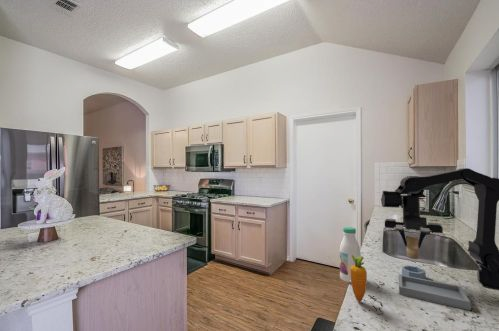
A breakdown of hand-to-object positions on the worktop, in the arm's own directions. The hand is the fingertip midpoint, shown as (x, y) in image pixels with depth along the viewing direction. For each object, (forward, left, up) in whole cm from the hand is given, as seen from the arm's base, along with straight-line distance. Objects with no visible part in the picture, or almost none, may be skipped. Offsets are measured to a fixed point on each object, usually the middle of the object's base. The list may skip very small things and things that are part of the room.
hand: (412, 247), depth 92 cm
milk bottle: (+21, +16, -12) cm, 29 cm away
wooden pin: (0, 0, -4) cm, 4 cm away
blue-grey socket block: (0, 0, -12) cm, 12 cm away
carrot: (+16, +32, -12) cm, 37 cm away
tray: (-4, +13, -12) cm, 18 cm away
